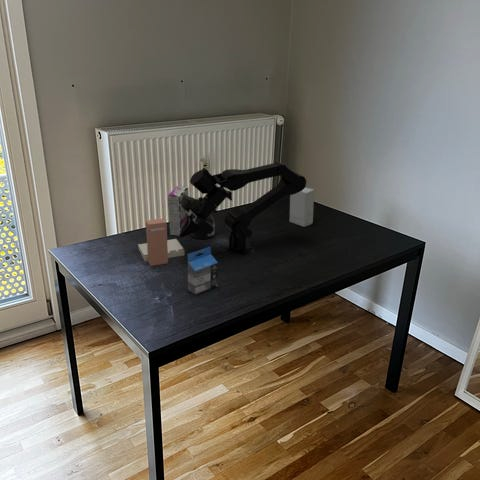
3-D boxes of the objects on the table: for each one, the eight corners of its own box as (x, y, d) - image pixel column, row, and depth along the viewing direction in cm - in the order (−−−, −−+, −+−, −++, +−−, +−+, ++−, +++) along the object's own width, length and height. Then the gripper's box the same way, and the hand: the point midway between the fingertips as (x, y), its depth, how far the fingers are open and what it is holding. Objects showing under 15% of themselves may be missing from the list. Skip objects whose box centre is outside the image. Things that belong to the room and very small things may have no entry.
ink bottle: (215, 239, 179) (215, 210, 174) (191, 240, 178) (191, 210, 173) (213, 229, 188) (213, 200, 183) (190, 230, 187) (190, 201, 182)
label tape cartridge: (195, 295, 143) (194, 259, 138) (187, 290, 146) (186, 254, 140) (218, 286, 148) (218, 250, 143) (210, 281, 151) (210, 246, 146)
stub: (165, 258, 164) (163, 218, 158) (168, 263, 161) (166, 222, 155) (148, 261, 162) (145, 220, 155) (150, 266, 159) (148, 224, 152)
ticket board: (176, 243, 175) (176, 238, 174) (184, 255, 167) (184, 249, 166) (138, 249, 170) (138, 244, 169) (144, 261, 162) (144, 256, 161)
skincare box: (312, 224, 196) (316, 189, 190) (303, 227, 192) (306, 192, 186) (297, 218, 201) (299, 184, 195) (287, 221, 198) (290, 187, 191)
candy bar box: (177, 224, 192) (176, 185, 185) (189, 225, 191) (189, 186, 184) (168, 235, 182) (167, 194, 175) (181, 236, 181) (180, 195, 174)
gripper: (186, 178, 163) (156, 212, 164) (204, 196, 148) (171, 233, 149) (207, 198, 170) (178, 230, 170) (227, 216, 154) (195, 252, 155)
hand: (180, 236), depth 161 cm, fingers closed
